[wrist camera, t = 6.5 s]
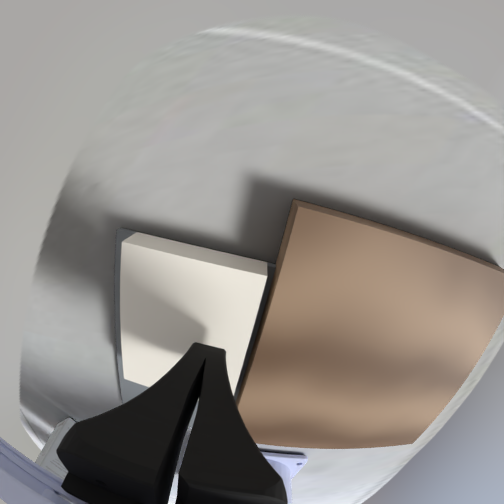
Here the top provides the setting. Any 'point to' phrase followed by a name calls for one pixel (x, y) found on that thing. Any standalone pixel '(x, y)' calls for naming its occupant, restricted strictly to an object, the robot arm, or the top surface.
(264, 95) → the top surface
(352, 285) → the board
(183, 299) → the tile
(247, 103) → the top surface
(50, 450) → the skincare box
